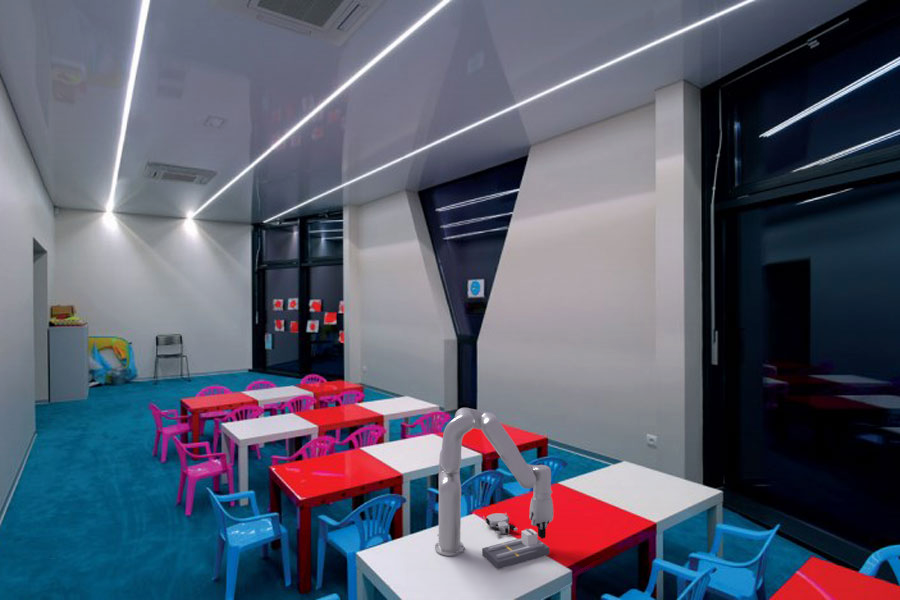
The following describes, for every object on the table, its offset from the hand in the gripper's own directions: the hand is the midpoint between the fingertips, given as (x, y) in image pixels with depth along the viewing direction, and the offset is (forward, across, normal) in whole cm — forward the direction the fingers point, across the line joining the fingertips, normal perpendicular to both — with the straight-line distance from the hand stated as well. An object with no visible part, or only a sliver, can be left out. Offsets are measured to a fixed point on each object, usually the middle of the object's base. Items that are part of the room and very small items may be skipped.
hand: (541, 536), depth 208 cm
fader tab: (+1, +7, 0) cm, 7 cm away
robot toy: (+5, +6, -23) cm, 24 cm away
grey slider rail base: (+5, +14, 0) cm, 14 cm away
